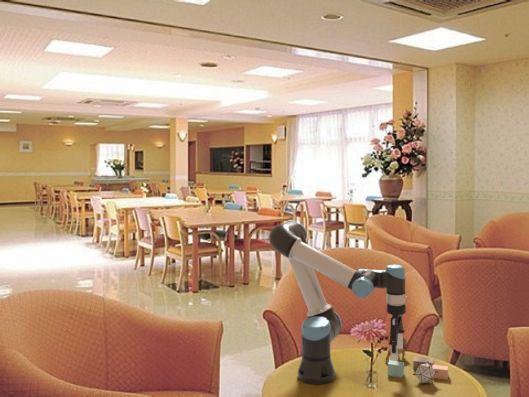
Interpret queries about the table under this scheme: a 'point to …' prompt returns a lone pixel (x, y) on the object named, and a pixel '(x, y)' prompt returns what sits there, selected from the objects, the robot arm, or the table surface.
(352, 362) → the table surface
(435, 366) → the terracotta block
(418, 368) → the game die
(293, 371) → the table surface
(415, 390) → the table surface
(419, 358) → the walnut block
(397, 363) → the teal block
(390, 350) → the lion figurine
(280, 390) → the table surface
